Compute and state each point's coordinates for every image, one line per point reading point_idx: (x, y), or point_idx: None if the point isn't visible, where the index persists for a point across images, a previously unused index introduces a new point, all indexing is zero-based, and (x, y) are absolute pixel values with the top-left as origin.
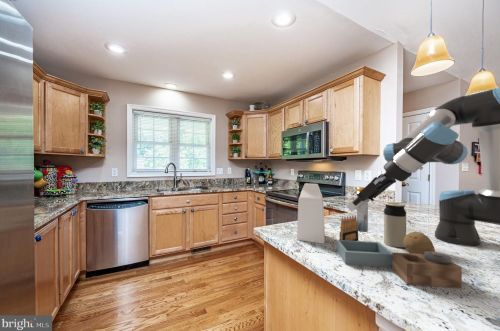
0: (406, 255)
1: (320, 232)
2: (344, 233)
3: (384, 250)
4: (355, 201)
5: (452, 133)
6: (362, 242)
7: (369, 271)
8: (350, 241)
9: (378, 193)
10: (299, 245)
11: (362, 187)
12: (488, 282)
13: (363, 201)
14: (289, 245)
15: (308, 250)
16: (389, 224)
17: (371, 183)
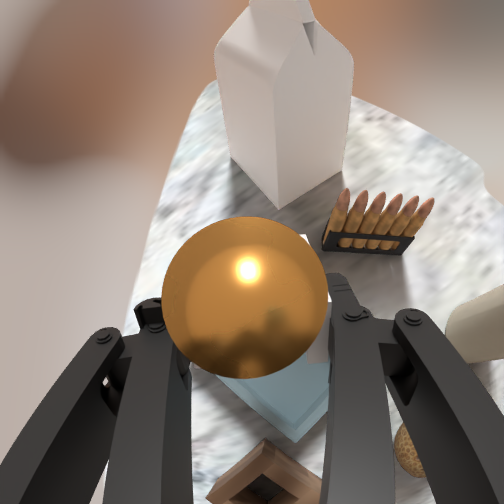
0: (275, 482)
1: (271, 181)
2: (336, 233)
3: (323, 399)
4: None
5: None
6: None
7: (205, 403)
8: None
9: (405, 417)
10: (200, 188)
11: (299, 265)
12: None
13: (195, 366)
14: (178, 177)
15: (189, 224)
16: (487, 321)
17: (3, 493)
